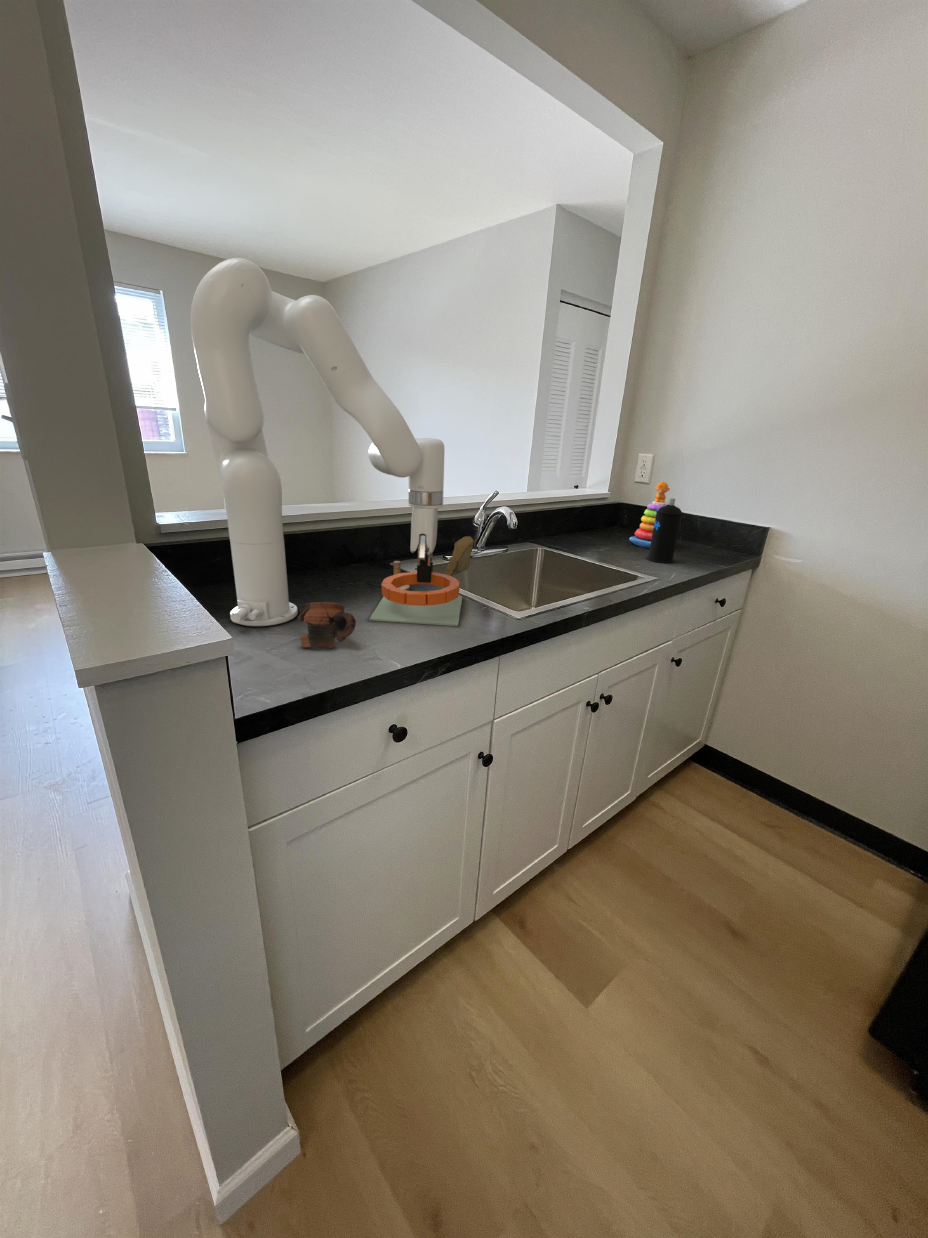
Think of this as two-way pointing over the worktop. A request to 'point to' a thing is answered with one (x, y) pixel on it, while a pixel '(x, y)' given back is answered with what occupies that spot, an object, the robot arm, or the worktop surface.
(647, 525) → the stacking toy
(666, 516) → the aerosol can
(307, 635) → the pottery mug
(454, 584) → the ring
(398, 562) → the wooden peg disc
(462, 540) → the rock
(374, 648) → the worktop surface
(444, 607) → the mat
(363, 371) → the robot arm
